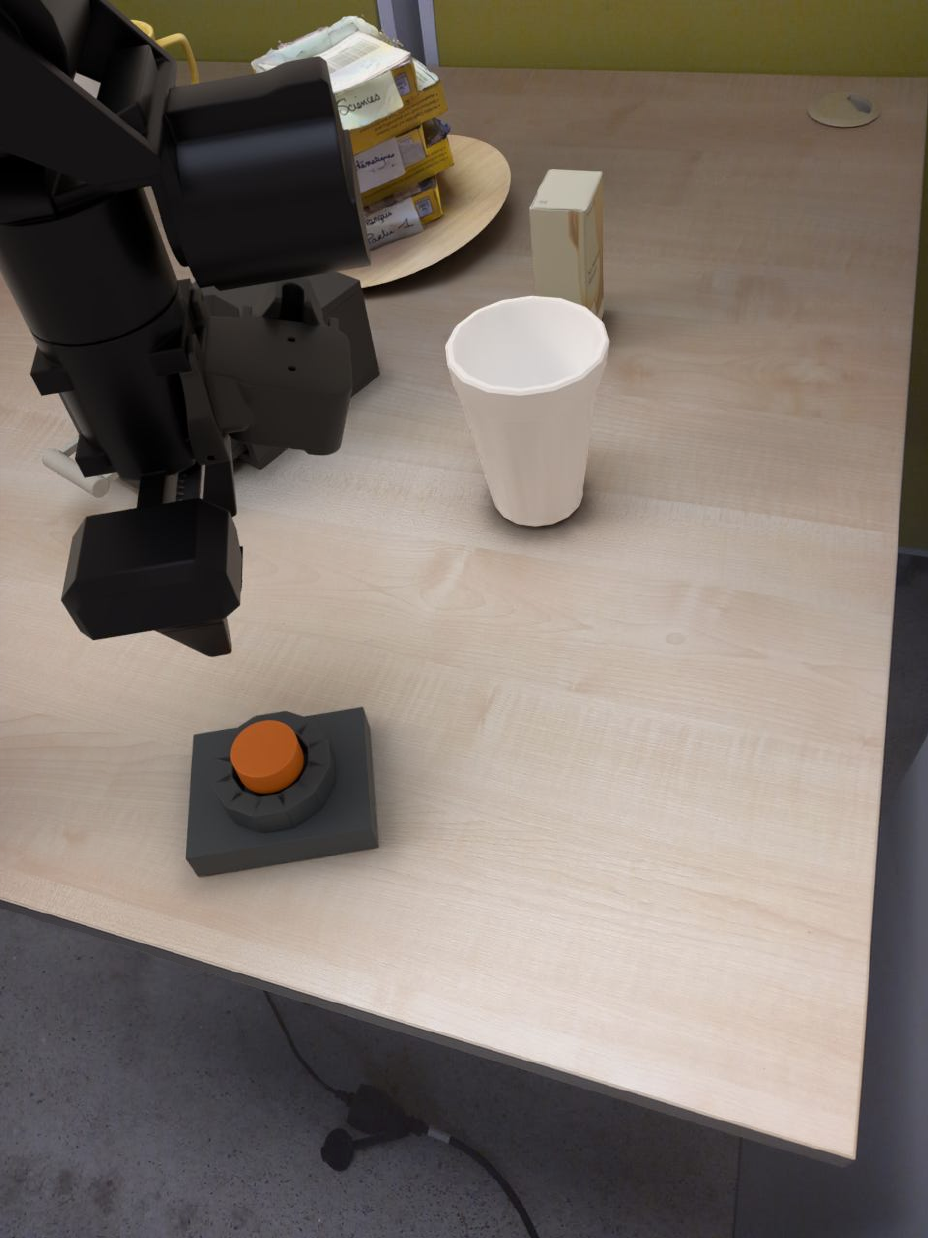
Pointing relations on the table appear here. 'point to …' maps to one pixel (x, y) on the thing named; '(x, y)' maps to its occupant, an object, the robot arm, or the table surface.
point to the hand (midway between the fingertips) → (224, 580)
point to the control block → (284, 798)
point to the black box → (336, 301)
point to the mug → (165, 42)
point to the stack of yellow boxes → (402, 150)
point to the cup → (530, 400)
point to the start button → (267, 756)
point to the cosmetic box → (569, 238)
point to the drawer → (98, 484)
